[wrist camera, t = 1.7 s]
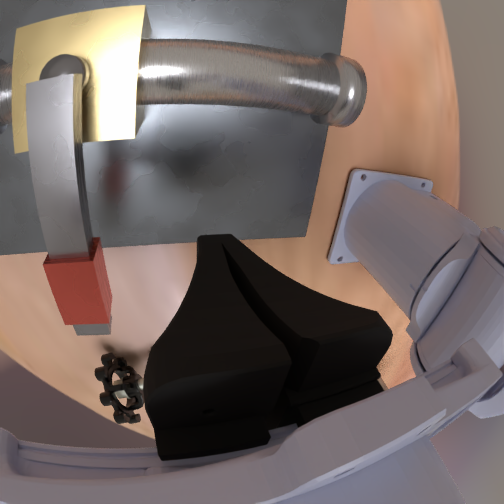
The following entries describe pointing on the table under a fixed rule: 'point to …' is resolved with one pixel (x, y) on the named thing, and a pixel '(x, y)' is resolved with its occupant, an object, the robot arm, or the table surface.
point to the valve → (121, 388)
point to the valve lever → (66, 196)
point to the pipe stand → (181, 113)
